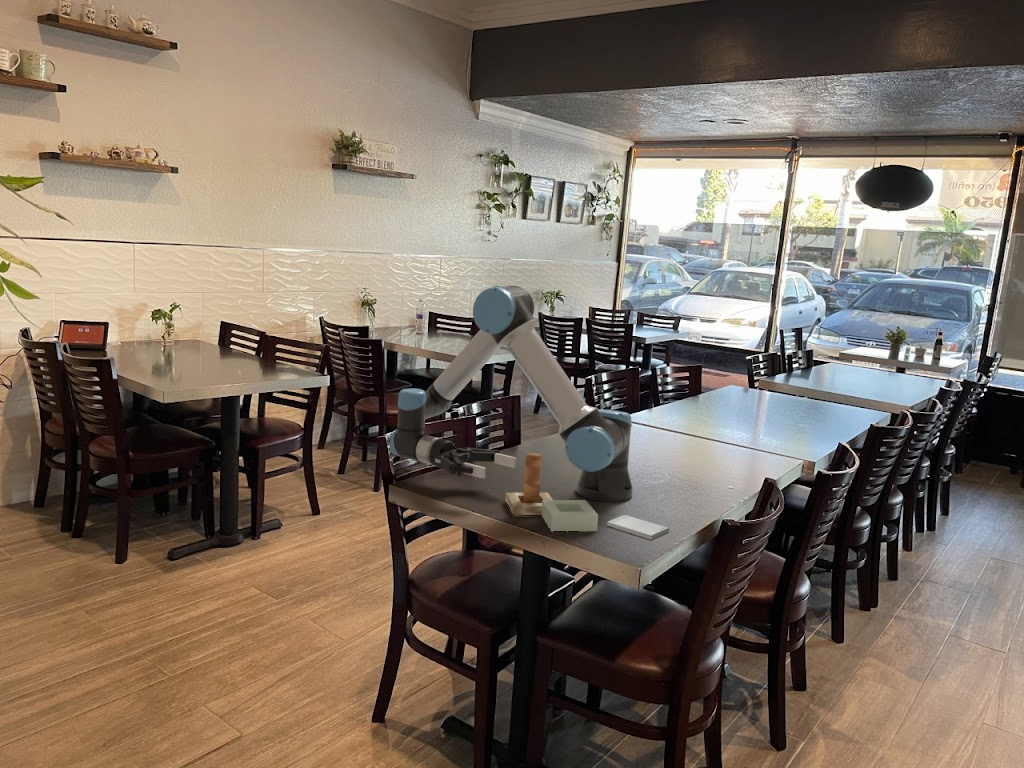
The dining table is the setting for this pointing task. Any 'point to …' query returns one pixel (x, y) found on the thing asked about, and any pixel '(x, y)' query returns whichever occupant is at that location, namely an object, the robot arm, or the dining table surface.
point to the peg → (532, 478)
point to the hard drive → (638, 527)
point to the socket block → (569, 515)
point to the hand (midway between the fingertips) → (500, 467)
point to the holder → (525, 504)
